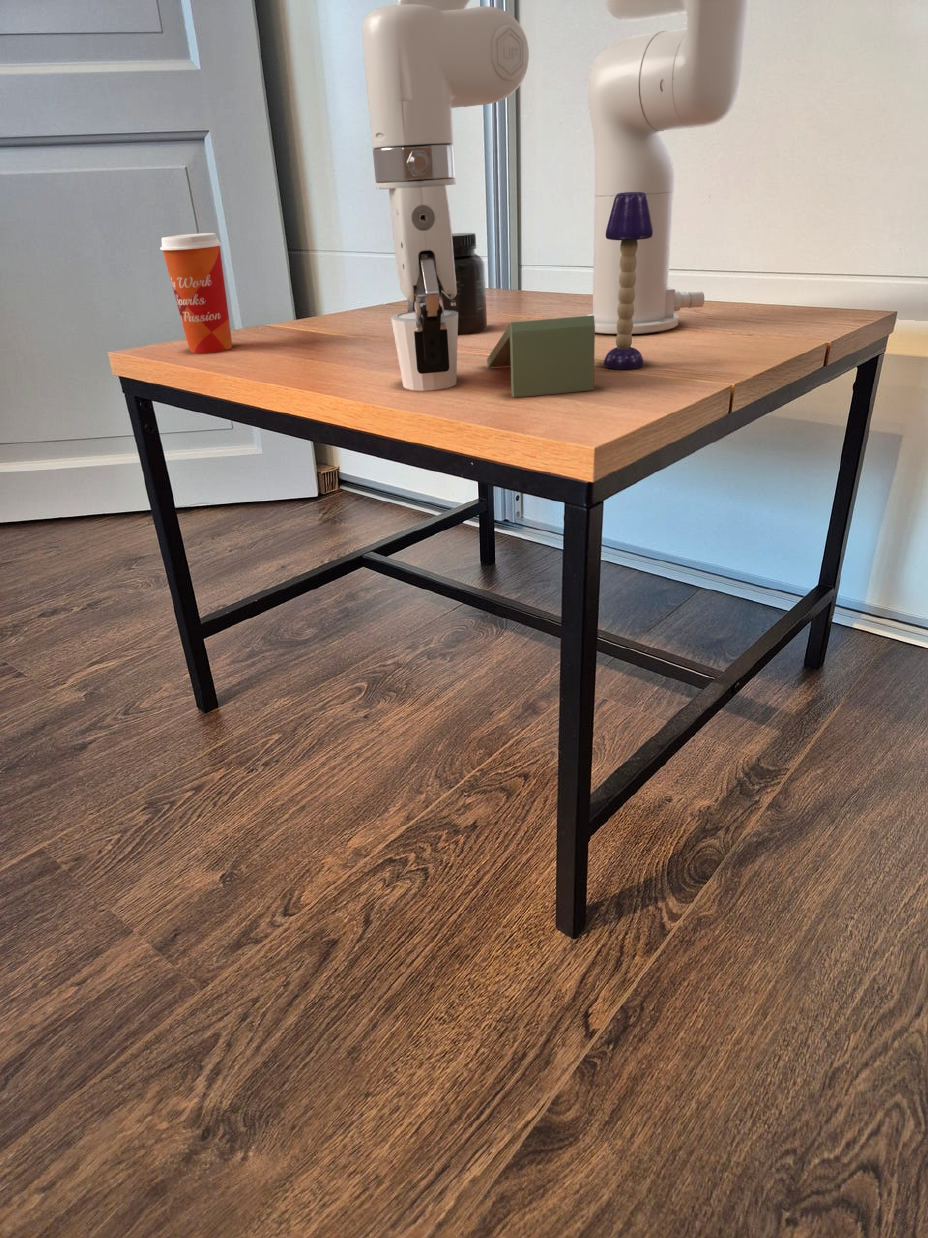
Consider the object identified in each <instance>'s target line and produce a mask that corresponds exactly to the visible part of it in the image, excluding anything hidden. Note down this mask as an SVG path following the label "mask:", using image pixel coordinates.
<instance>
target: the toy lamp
mask: <svg viewBox="0 0 928 1238" xmlns="http://www.w3.org/2000/svg"><path fill="white" fill-rule="evenodd" d="M652 234H653V230H652V223H651V217H650V212H649V206H648V201H647V196H646V194H645V193H644V192H624V193H618V194H617V195H616V197H615V199H614V203H613V207H612V210H611V214H610V218H609V221H608V225H607V229H606V238H607V239H610V240H622V241H621V245H620V250H621V254H622V256H621V259H620V269H621V273H620V276H619V283H620V286H621V287H620V289H619V294H618V298H619V302H620V303H619V305H618V309H617V314H618V317H619V319H618V321H617V332H618V334H616V338H615V346H616V347H614V348H612V349H610V350H609V351H608V352H607V353H606V356H605V357H604V361H603V366H604V367H605V368H607V369H612V370H634V369H639V368H641V367H643V366H644V357H643V355H642V353H641V352H640V351H639V350H638V349H637V348H635V347H632V343H633V334H631V332H632V329H633V319H632V317H633V314H634V304H633V301H634V299H635V288H634V285H635V283H636V273H635V269H636V266H637V258H636V255H635V254H636V252H637V248H638V242H637V240H640V239H648V238H650V237H652Z"/></svg>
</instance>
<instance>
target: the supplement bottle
mask: <svg viewBox="0 0 928 1238" xmlns="http://www.w3.org/2000/svg"><path fill="white" fill-rule="evenodd" d="M476 236H477V235H476V233H474V232H457V233H454V232H453V233H452V242H453V254H454V266H455V277H456V288H457V294H456V296H455V297H454V298H453V299H449V298H448V297H447V296H446V295H445V294H444V293H443V292H442V297H443V307H444V310H450V311H455V312H458V335H470V334H475V333H480V332H483V331H485V330H486V329H487V326H488V313H487V311H488V310H487V289H486V288H487V287H486V267H485V261H484V260H483V258H482V257H481V256H479V255H478V254H476V249H477V247H478V246H477V245H478V244H477V237H476Z"/></svg>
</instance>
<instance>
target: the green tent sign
mask: <svg viewBox="0 0 928 1238" xmlns="http://www.w3.org/2000/svg"><path fill="white" fill-rule="evenodd" d="M595 343H596V333H595V322H594V316H593V315H592V316H587V315H582V316H570V317H559V318H558V317H557V318H547V319H534V320H524V321H523V320H522V321H512V322H511V321H510V323H509V324H508V325H507V328H506V329H505V331H504V333H503V334H502V335H501V337H500V339H499V340H498V342H496V345H495V346H494V347H493V349H492V350H491V352H490V354H489V355H488V357H487V358H486V365H487V369H493V368H503V367H504V368H505V367H510V389H511V397H513V398H514V399H516V398H525V397H537V396H547V395H556V394H566V393H567V394H568V393H576V392H577V393H579V392H588V391H589V392H590V391H595V351H596V348H595V347H596V344H595Z"/></svg>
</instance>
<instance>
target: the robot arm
mask: <svg viewBox="0 0 928 1238" xmlns="http://www.w3.org/2000/svg"><path fill="white" fill-rule="evenodd" d="M470 1H471V0H397V4H395V5H388V6H382V7H378V8H376V9H374V10H372V11H370V12H369V13H368V14H367V15H366V16H365V18H364V20H363V23H362V29H361V33H362V34H361V35H362V49H363V61H364V70H365V81H366V82H365V83H366V92H367V102H368V105H367V106H368V114H369V124H370V126H369V127H370V134H371V145H372V157H373V167H374V178H375V190H388V195H389V205H390V206H389V207H390V216H391V217H390V218H391V229H392V239H393V247H394V255H395V263H396V264H395V265H396V270H397V276H398V277H397V278H398V282H399V288H400V291H401V293H402V294H403V296H404V297H405V298H406V304H407V305H406V306H407V312H410V311H415V319H416V327H417V331H414V338H415V350H416V363H417V371H418V372H419V373H420V374H425V373H436V372H446V371H448V370H449V352H448V336H447V329H446V325H445V315H444V307H443V297H442V292H443V293H444V294H445V295H446V296H447V297H448V298H449V299H453V298H454V297H455V296H456V294H457V288H456V277H455V266H454V254H453V242H452V234H453V231H452V223H451V221H452V220H451V213H450V212H451V211H450V203H449V198H448V191H447V186H453V185H456V167H455V166H456V165H455V148H454V129H453V126H454V125H453V111H452V110H453V109H454V108H468V107H475V106H484V105H485V106H486V105H490V104H494V103H495V104H496V103H499V102H501V101H503V100H505V99H507V98H508V97H510V96H511V95H512V94H513V93H514V92H516V91H517V90H518V88H519V87H520V86H521V85H522V83H523V81H524V79H525V77H526V74H527V71H528V68H529V61H530V51H529V50H530V49H529V48H530V47H529V42H528V39H527V35H526V33H525V31H524V29H523V27H522V25H521V24H520V23H519V22H518V20H517V19H516V18H515V17H514V16H513V15H511V14H510V13H509V12H507V11H506V10H503V9H502V8H499V7H496V6H487V5H486V6H485V5H484V6H476V7H469V8H467V6H468V5H469V3H470ZM604 3H605V6H606V9H607V11H608V12H609V13H610V14H611V16H612V17H614V18H615V19H617V20H619V21H624V22H639V21H646V20H651V19H659V18H664V17H670V16H677V15H682V14H686V27H685V28H678V29H673V30H664V31H663V30H662V31H656V32H655V31H654V32H649V33H644V34H638V35H633V36H629V37H625V38H621V39H619V40H617V41H614V42H613V43H611V44H609V45H607V46H606V47H605V48H603V49H602V50H601V51H600V52H599V54H598V55H596V57H595V59H594V61H593V63H592V64H591V67H590V69H589V74H588V79H587V101H588V110H589V115H590V122H591V128H592V135H593V146H594V216H593V217H594V218H593V222H594V224H593V275H592V276H593V277H592V278H593V279H592V313H590V314H587V315H586V316H592V315H593V316H594V322H595V334H606V335H617V334H618V332H617V321H618V319H619V317H618V314H617V309H618V305H619V303H620V302H619V298H618V294H619V289H620V287H621V286H620V283H619V276H620V273H621V269H620V259H621V256H622V254H621V250H620V245H621V241H622V240H610V239H607V238H606V229H607V225H608V221H609V218H610V214H611V210H612V207H613V203H614V199H615V197H616V195H617V194H618V193H624V192H644V193H645V194H646V196H647V201H648V206H649V212H650V217H651V223H652V230H653V234H652V237H650V238H648V239H640V240H637V242H638V248H637V252H636V254H635V255H636V258H637V266H636V269H635V273H636V283H635V285H634V288H635V299H634V301H633V304H634V314H633V317H632V319H633V329H632V332H631V335H638V334H639V335H640V334H653V333H658V332H663V331H668V330H671V329H674V328H676V327H677V326H678V325H679V315H678V314H676V312H679V311H681V309H684V308H688V309H691V308H692V309H693V308H702V307H703V306H704V304H705V293H704V291H702V290H701V291H700V290H699V291H689V292H686V291H682V292H680V291H679V290H676V288H674V287H670V286H669V278H670V263H671V261H670V259H671V242H672V241H671V240H672V225H673V208H674V191H675V167H674V163H673V161H672V157H671V155H670V153H669V150H668V148H667V146H666V144H665V142H664V139H663V138H662V135H661V133H660V132H664V131H673V130H685V129H698V128H705V127H709V126H714V125H716V124H718V123H720V122H721V121H723V120H724V119H725V118H726V117H727V116H728V115H729V114H730V112H731V111H732V109H733V107H734V105H735V103H736V101H737V98H738V95H739V92H740V91H739V90H740V86H741V82H742V81H741V80H742V73H743V65H744V64H743V63H744V51H745V41H746V40H745V39H746V29H747V28H746V27H747V26H746V25H747V16H748V15H747V14H748V3H749V0H604Z"/></svg>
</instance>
